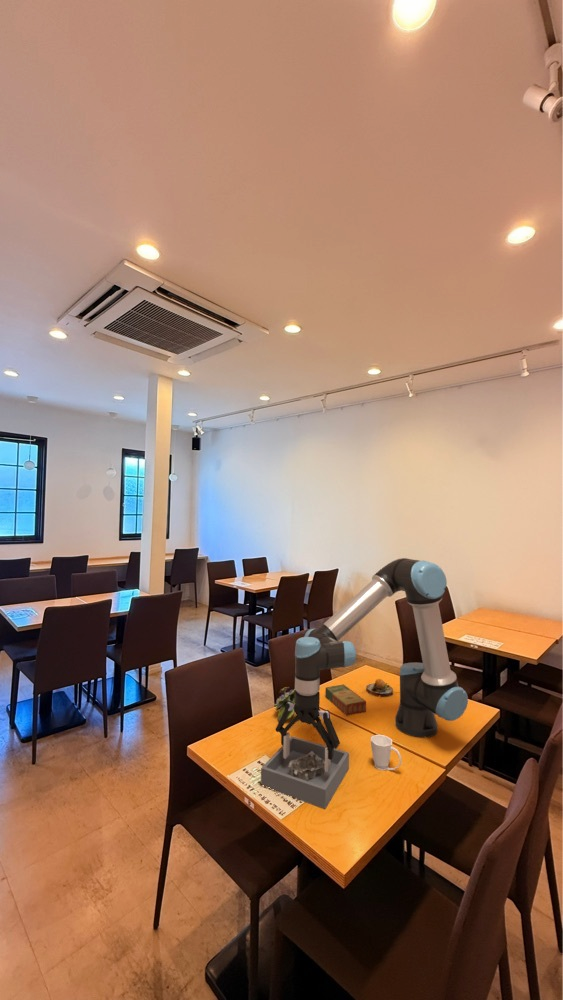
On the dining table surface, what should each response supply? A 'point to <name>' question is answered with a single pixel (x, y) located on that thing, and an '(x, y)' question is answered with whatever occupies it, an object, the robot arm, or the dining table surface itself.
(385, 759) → the cup
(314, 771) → the egg carton
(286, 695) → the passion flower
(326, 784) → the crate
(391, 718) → the dining table surface
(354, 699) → the carton
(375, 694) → the brown food dish
